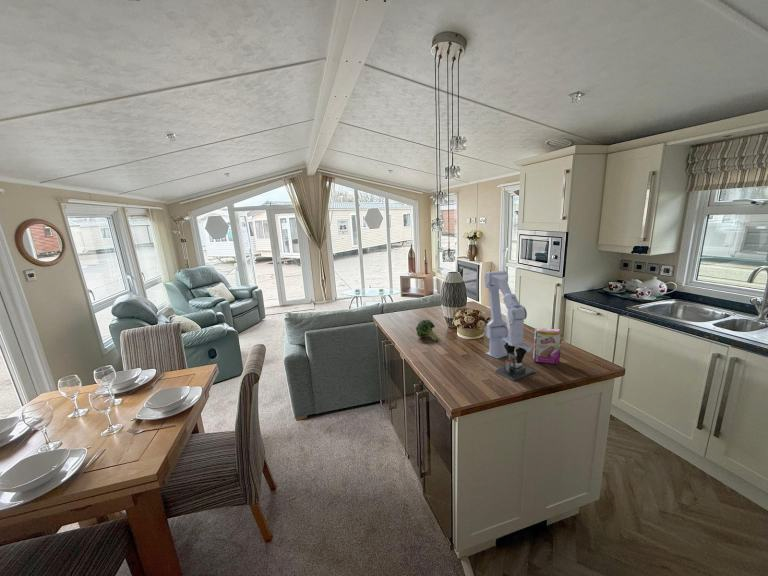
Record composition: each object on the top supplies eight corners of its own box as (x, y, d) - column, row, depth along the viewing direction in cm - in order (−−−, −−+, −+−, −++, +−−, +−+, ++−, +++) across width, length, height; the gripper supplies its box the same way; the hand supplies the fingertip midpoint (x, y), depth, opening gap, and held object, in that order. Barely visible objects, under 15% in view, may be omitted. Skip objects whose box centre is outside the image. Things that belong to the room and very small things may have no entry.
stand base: (516, 364, 151) (516, 350, 150) (534, 372, 143) (535, 358, 141) (495, 372, 145) (495, 357, 144) (513, 381, 136) (513, 366, 135)
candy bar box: (534, 362, 152) (535, 330, 149) (532, 358, 157) (534, 327, 153) (559, 364, 148) (562, 332, 145) (557, 360, 153) (560, 328, 150)
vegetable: (426, 341, 180) (409, 325, 189) (430, 349, 190) (414, 334, 199) (441, 327, 182) (424, 312, 190) (444, 336, 192) (428, 321, 201)
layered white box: (514, 363, 146) (514, 351, 145) (521, 366, 142) (522, 354, 141) (507, 365, 144) (507, 353, 143) (514, 368, 140) (515, 356, 139)
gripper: (497, 330, 144) (496, 357, 147) (524, 339, 132) (522, 369, 135) (507, 327, 148) (506, 353, 150) (535, 336, 135) (533, 365, 138)
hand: (515, 361), depth 143 cm, fingers closed on layered white box, 4 cm apart
